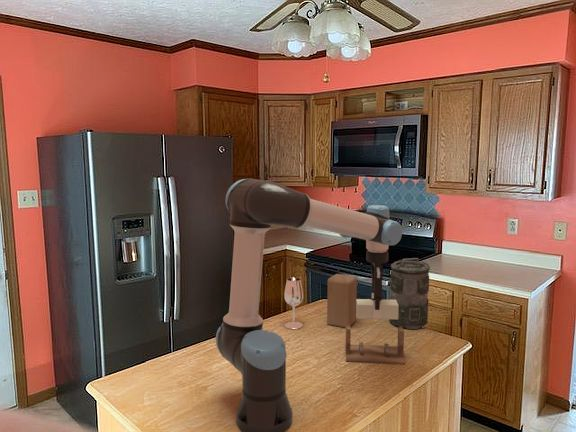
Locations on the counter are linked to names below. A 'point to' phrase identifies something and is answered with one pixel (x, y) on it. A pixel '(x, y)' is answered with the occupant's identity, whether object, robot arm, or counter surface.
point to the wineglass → (293, 299)
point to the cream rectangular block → (366, 309)
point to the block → (341, 300)
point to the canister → (410, 292)
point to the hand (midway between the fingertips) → (376, 314)
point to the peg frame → (375, 351)
